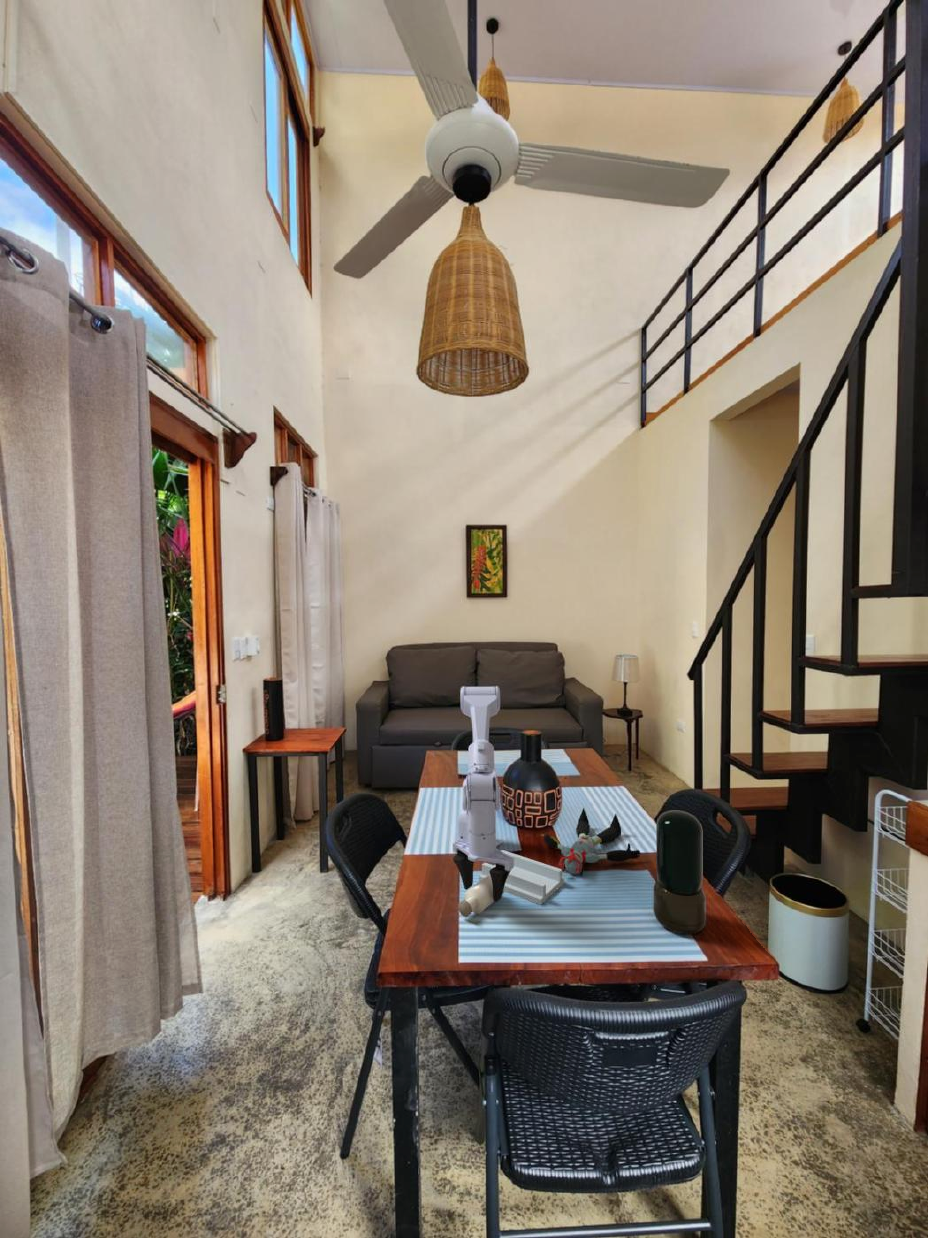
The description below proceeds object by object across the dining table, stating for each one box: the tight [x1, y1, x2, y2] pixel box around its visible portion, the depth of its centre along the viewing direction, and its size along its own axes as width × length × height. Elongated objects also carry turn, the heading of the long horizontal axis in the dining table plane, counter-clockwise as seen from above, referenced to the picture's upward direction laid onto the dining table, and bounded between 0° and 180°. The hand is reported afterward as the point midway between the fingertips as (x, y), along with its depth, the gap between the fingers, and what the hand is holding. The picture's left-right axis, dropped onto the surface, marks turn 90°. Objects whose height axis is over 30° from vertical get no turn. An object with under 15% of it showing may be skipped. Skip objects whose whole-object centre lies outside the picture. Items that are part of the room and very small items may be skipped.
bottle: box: [457, 874, 505, 918], centre depth 108 cm, size 11×5×5 cm, turn 143°
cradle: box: [478, 849, 565, 906], centre depth 118 cm, size 16×11×4 cm
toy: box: [540, 807, 641, 877], centre depth 131 cm, size 26×8×30 cm
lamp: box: [653, 809, 707, 935], centre depth 102 cm, size 10×10×22 cm
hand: (482, 893), depth 109 cm, fingers open, 7 cm apart
